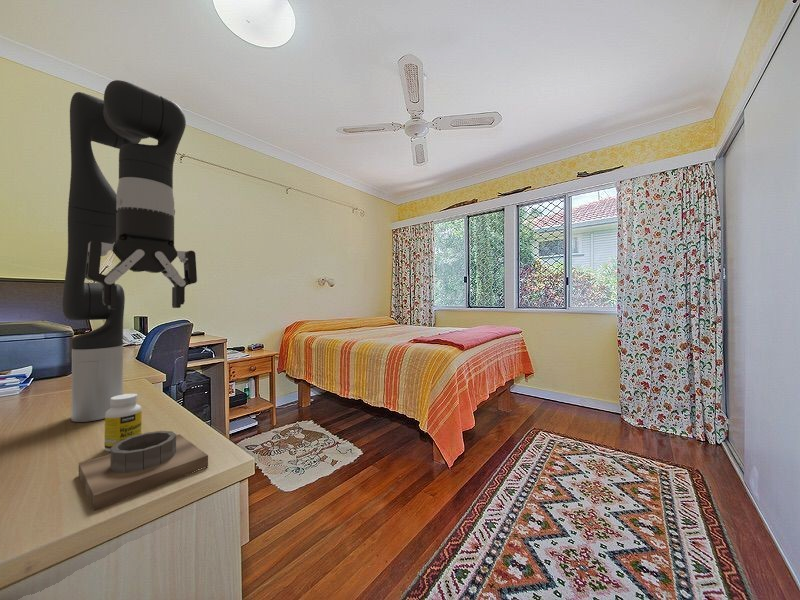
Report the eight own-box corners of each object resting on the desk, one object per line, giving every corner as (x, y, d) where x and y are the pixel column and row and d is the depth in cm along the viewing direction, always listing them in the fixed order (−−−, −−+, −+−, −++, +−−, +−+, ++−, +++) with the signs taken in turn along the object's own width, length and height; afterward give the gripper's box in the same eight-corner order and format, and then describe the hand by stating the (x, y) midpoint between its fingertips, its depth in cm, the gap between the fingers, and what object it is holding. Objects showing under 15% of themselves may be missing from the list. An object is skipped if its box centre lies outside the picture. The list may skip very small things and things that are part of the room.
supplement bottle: (119, 454, 58) (119, 401, 58) (96, 451, 59) (96, 399, 59) (148, 441, 63) (148, 393, 63) (127, 439, 64) (127, 391, 64)
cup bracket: (78, 475, 51) (78, 444, 51) (179, 444, 62) (179, 419, 62) (93, 510, 42) (93, 473, 42) (208, 466, 53) (208, 437, 53)
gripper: (187, 223, 60) (187, 307, 60) (82, 205, 49) (82, 308, 49) (202, 217, 55) (202, 308, 55) (91, 196, 44) (90, 310, 44)
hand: (146, 308), depth 52 cm, fingers open, 8 cm apart
